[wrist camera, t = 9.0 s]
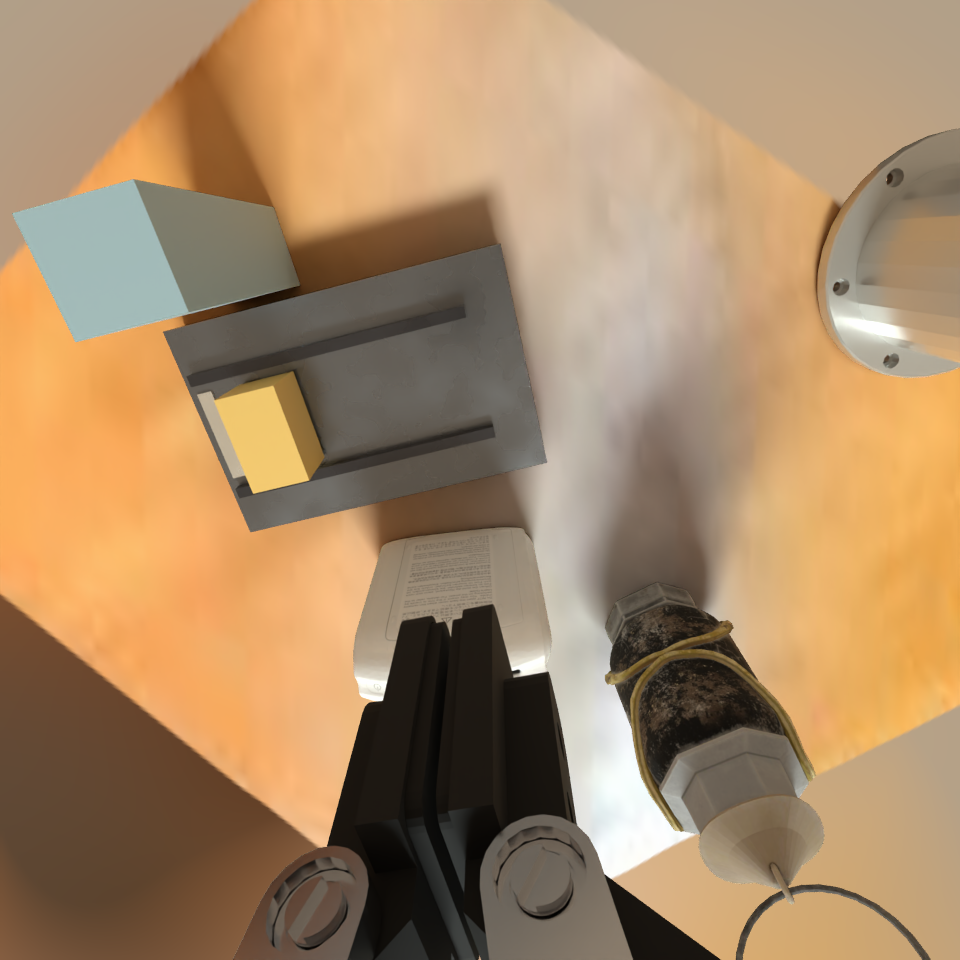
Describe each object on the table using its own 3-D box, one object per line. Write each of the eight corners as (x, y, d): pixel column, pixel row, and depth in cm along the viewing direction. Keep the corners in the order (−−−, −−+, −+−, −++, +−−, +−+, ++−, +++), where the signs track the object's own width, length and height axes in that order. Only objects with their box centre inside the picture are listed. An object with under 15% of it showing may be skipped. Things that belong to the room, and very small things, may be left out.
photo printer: (384, 593, 40) (352, 735, 28) (372, 537, 38) (332, 663, 27) (536, 575, 39) (565, 711, 28) (530, 518, 38) (559, 637, 26)
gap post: (273, 207, 31) (133, 179, 18) (300, 285, 32) (188, 312, 19) (201, 226, 31) (12, 213, 18) (231, 303, 32) (75, 342, 19)
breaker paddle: (293, 370, 31) (273, 385, 28) (324, 457, 33) (309, 480, 30) (239, 384, 31) (213, 400, 28) (273, 469, 33) (253, 493, 30)
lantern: (619, 687, 43) (800, 1204, 20) (571, 606, 40) (716, 1096, 17) (731, 638, 42) (1066, 1132, 18) (689, 551, 39) (1019, 1002, 16)
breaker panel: (497, 243, 32) (501, 243, 29) (541, 448, 36) (548, 466, 33) (184, 325, 33) (157, 333, 30) (263, 514, 37) (247, 536, 34)
